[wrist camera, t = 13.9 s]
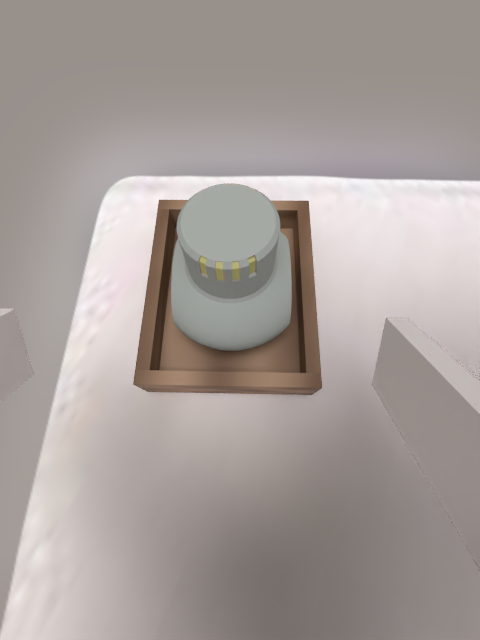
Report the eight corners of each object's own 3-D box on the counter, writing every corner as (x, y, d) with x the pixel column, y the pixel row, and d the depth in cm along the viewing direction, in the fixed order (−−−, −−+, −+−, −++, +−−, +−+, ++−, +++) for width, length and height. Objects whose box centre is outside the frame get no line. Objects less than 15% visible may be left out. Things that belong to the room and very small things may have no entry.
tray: (301, 226, 30) (308, 200, 27) (311, 394, 25) (321, 387, 22) (168, 225, 31) (159, 199, 27) (147, 391, 25) (133, 384, 22)
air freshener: (189, 242, 29) (162, 148, 19) (279, 242, 29) (296, 147, 19) (180, 359, 25) (142, 311, 16) (285, 359, 25) (310, 311, 15)
